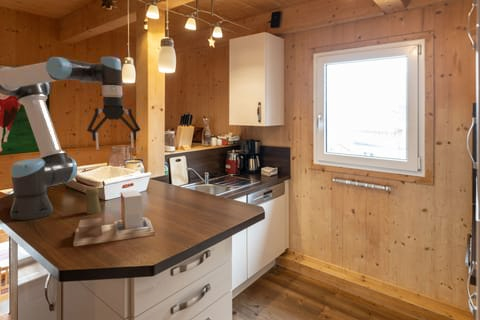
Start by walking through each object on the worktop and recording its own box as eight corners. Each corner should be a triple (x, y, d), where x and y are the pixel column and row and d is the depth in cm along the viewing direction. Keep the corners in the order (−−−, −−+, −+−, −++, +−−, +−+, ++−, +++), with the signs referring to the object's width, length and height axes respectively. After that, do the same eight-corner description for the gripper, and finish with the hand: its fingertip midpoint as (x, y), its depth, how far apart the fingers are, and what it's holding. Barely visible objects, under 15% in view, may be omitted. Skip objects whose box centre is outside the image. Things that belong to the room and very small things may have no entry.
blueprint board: (73, 246, 102) (72, 231, 101) (76, 231, 115) (75, 218, 114) (154, 234, 112) (154, 221, 111) (149, 222, 125) (149, 210, 124)
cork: (97, 209, 142) (95, 185, 140) (103, 211, 138) (102, 187, 136) (83, 212, 137) (81, 187, 135) (90, 215, 133) (88, 190, 132)
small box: (121, 225, 117) (120, 192, 116) (139, 222, 120) (137, 190, 119) (125, 232, 110) (123, 197, 109) (143, 229, 113) (142, 195, 112)
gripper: (77, 95, 118) (81, 150, 122) (145, 97, 128) (147, 148, 131) (79, 96, 125) (82, 148, 128) (143, 98, 135) (145, 146, 138)
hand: (115, 148), depth 130 cm, fingers open, 13 cm apart
